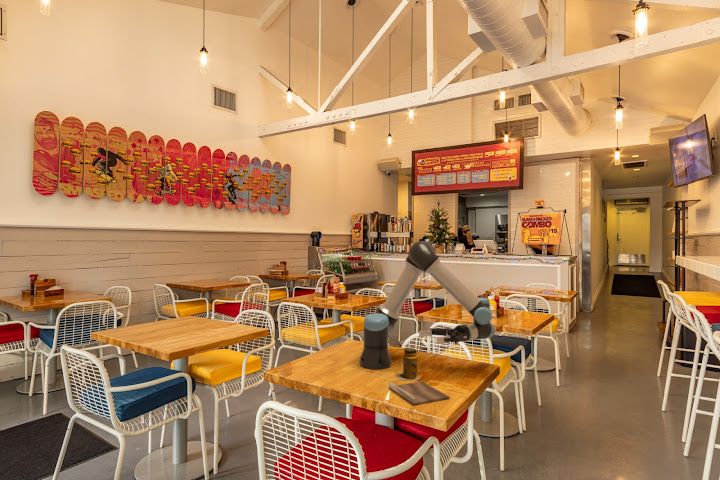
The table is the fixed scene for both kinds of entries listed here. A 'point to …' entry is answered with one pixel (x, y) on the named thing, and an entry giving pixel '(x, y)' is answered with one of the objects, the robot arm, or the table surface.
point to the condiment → (409, 365)
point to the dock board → (418, 392)
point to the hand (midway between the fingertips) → (428, 337)
